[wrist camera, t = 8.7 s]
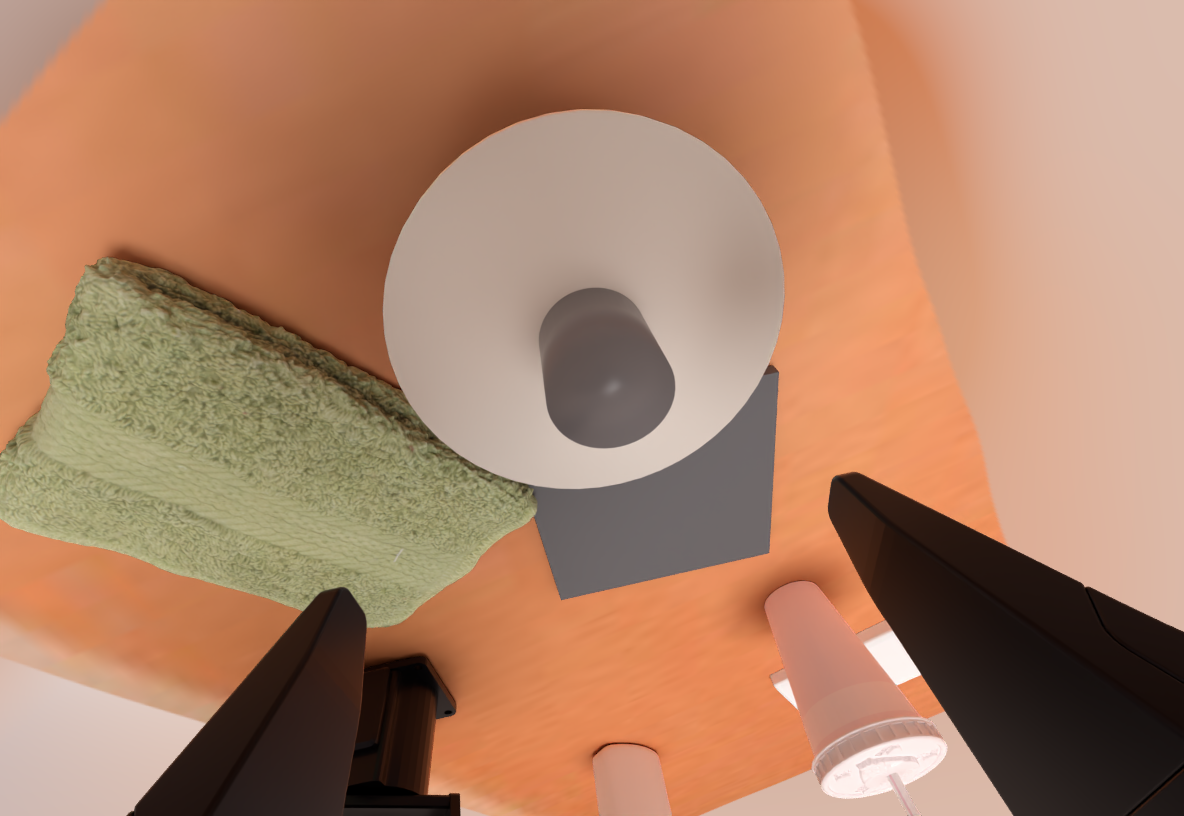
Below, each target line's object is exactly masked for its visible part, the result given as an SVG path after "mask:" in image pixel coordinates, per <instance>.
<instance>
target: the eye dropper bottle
mask: <svg viewBox="0 0 1184 816" xmlns="http://www.w3.org/2000/svg"><path fill="white" fill-rule="evenodd" d="M593 770H594V778H595V786H596V794H597V802H598V810H599V816H672V813H671V809H670V804H669V800H668V795H667V791H666V787H665V782H664V778H663V773H662V769H661V764H660V760H659V757H658V755H657V753H656V752H654V751H653V750H651V749H649V748H647V747H644V746H640V745H634V744H612V745H608V746H606V747H604V748H603V749H602V750H601V751H599V752H598V753H597V754H596V755H595V756H594V758H593Z"/></svg>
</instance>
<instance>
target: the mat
mask: <svg viewBox="0 0 1184 816" xmlns="http://www.w3.org/2000/svg"><path fill="white" fill-rule="evenodd" d="M778 378H779V372H778V371H777V369H776V368H775V367H774V366H773V365H772V366H768V367H767V368H766V370H765V372H764V374H763V376H762V378H761V380H760V382H759V384H758V386H757V387H756V389H755V390H754V391H753V393H752V394H751V396H750V397H749V399H748V400H747V402H746V403H745V405H744V406H743V407H742V408H741V409H740V411H739V412H738V413H737V414H736V415H735V416H734V418H733V419H732V420H731V421H730V422H729V423H728V424H727V425H726V426H725V427H724V428H723V429H722V430H721V431H720V432H719V433H718V434H717V435H716V436H714V437H713V438H712V439H710V440H709V441H708V442H707V443H705V444H704V445H703V446H701V447H700V448H699V449H698V450H696V451H694V452H693V453H691V454H690V455H688V456H686V457H685V458H683V459H682V460H680V461H678V462H676V463H674V464H672V465H670V466H668V467H666V468H664V469H662V470H660V471H658V472H655V473H652V474H650V475H647V476H645V477H642V478H639V479H635V480H632V481H628V482H625V483H621V484H616V485H610V486H604V487H598V488H585V489H557V488H549V487H540V486H534V485H530V484H527V485H528V486H529V488H533V489H534V490H533V493H532V495H534V496H535V498H536V500H537V512H536V514H535V515H534V518H535V521H536V524H537V527H538V530H539V533H540V536H541V539H542V542H543V545H544V548H545V552H546V555H547V558H548V561H549V564H550V567H551V570H552V573H553V576H554V579H555V582H556V586H557V589H558V592H559V595H560V598H561V600H564V599H568V598H573V597H577V596H581V595H586V594H590V593H595V592H599V591H604V590H608V589H612V588H617V587H621V586H626V585H630V584H635V583H639V582H643V581H648V580H652V579H657V578H661V577H666V576H670V575H674V574H679V573H683V572H688V571H692V570H697V569H701V568H705V567H710V566H714V565H719V564H723V563H727V562H732V561H736V560H741V559H745V558H750V557H754V556H758V555H763V554H767V553H769V547H770V529H771V510H772V491H773V472H774V453H775V435H776V416H777V397H778Z"/></svg>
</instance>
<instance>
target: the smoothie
mask: <svg viewBox="0 0 1184 816" xmlns="http://www.w3.org/2000/svg"><path fill="white" fill-rule="evenodd" d="M764 609H765V612H766V615H767V618H768V621H769V624H770V627H771V630H772V633H773V636H774V639H775V642H776V645H777V648H778V651H779V654H780V657H781V659H782V662H783V665H784V668H785V671H786V674H787V677H788V680H789V683H790V686H791V689H792V692H793V695H794V698H795V701H796V704H797V707H798V710H799V713H800V716H801V719H802V722H803V726H804V729H805V731H806V734H807V737H808V740H809V743H810V746H811V749H812V751H813V754H814V759H813V761H812V771H813V772H814V774H815V775H816V776H817V778H818V781H819V783H820V785H821V788H822V790H823V791H824V792H825V793H826V794H828V795H830V796H833V797H837V798H860V797H866V796H872V795H876V794H880V793H884V792H887V791H890V790H894V791H895V793H896V795H897V797H898V799H899V801H900V803H901V805H902V806H903V808H904V810H905V812H906V814H907V816H921V814H920V812H919V810H918V809H917V807H916V805H915V803H914V802H913V800H912V798H911V797H910V795H909V793H908V791H907V789H906V787H905V785H906V784H908V783H910V782H912V781H914V780H916V779H918V778H920V777H921V776H923V775H925V774H926V773H928V772H929V771H931V770H932V769H934V768H935V767H936V766H937V765H938V764H939V763H940V762H941V761H942V759H943V758H944V757H945V755H946V753H947V744H946V742H945V741H944V739H943V738H942V736H941V735H940V733H939V732H938V730H937V729H936V725H935V723H933V722H932V721H931V720H929V719H928V718H924V717H921V716H920V715H919V713H918V712H917V711H916V710H915V708H914V707H913V706H912V704H911V703H910V702H909V700H908V699H907V698H906V697H905V695H904V694H903V693H902V691H901V690H900V689H899V688H898V686H897V685H896V684H895V683H894V682H893V680H892V679H891V678H890V677H889V675H888V674H887V673H886V672H885V670H884V669H883V668H882V667H881V665H880V664H879V663H878V661H877V660H876V659H875V658H874V656H873V655H872V654H871V653H870V651H869V650H868V649H867V648H866V646H865V645H864V644H863V643H862V641H861V640H860V639H859V637H858V636H857V635H856V634H855V632H854V631H853V630H852V629H851V627H850V626H849V625H848V624H847V622H846V621H845V620H844V619H843V617H842V616H841V615H840V613H839V612H838V611H837V610H836V608H835V607H834V606H833V605H832V603H831V602H830V601H829V600H828V598H827V597H826V596H825V595H824V593H823V592H822V591H821V589H820V588H819V587H818V586H817V585H816V584H815V583H813V582H809V581H797V582H792V583H789V584H786V585H784V586H782V587H780V588H778V589H777V590H775V591H774V592H773V593H772V594H771V595H770V596H769V597H768V598H767V600H766V602H765V605H764Z"/></svg>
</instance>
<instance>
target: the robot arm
mask: <svg viewBox="0 0 1184 816" xmlns="http://www.w3.org/2000/svg"><path fill="white" fill-rule="evenodd" d="M828 513H829V517H830V519H831V522H832V524H833V525H834V527H835V529H836V531H837V533H838V535H839V537H840V539H841V541H842V543H843V545H844V547H845V549H846V551H847V553H848V555H849V557H850V559H851V561H852V563H853V565H854V567H855V569H856V570H857V572H858V574H859V576H860V578H861V580H862V582H863V584H864V586H865V588H866V589H867V591H868V593H869V595H870V596H871V598H872V600H873V601H874V603H875V605H876V606H877V608H878V609H879V611H880V612H881V614H882V615H883V617H884V618H885V620H886V621H887V623H888V624H889V626H890V628H891V629H892V631H893V632H894V634H895V635H896V637H897V638H898V640H899V641H900V643H901V644H902V646H903V647H904V649H905V651H906V652H907V654H908V655H909V657H910V658H911V660H912V661H913V663H914V664H915V666H916V667H917V669H918V670H919V672H920V673H921V675H922V677H923V678H924V680H925V681H926V683H927V684H928V686H929V687H930V689H931V690H932V692H933V693H934V695H935V696H936V698H937V699H938V701H939V703H940V704H941V706H942V707H943V709H944V710H945V712H946V713H947V715H948V716H949V718H950V719H951V721H952V722H953V724H954V725H955V727H956V728H957V730H958V732H959V733H960V735H961V736H962V738H963V739H964V741H965V742H966V744H967V745H968V747H969V748H970V750H971V752H972V753H973V755H974V756H975V757H976V759H977V761H978V762H979V764H980V765H981V767H982V768H983V770H984V771H985V773H986V774H987V776H988V778H989V779H990V781H991V782H992V784H993V785H994V787H995V788H996V790H997V791H998V793H999V794H1000V796H1001V797H1002V799H1003V800H1004V802H1005V804H1006V805H1007V806H1008V808H1009V810H1010V811H1011V812H1012V814H1013V816H1184V632H1183V631H1181V630H1178V629H1176V628H1174V627H1172V626H1170V625H1167V624H1165V623H1163V622H1161V621H1159V620H1157V619H1155V618H1153V617H1150V616H1148V615H1146V614H1144V613H1142V612H1140V611H1138V610H1136V609H1134V608H1132V607H1129V606H1128V605H1126V604H1123V603H1121V602H1119V601H1117V600H1115V599H1113V598H1111V597H1109V596H1107V595H1105V594H1103V593H1101V592H1099V591H1097V590H1095V589H1093V588H1091V587H1084V585H1083V584H1082V583H1081V582H1078V581H1077V580H1074V579H1072V578H1070V577H1068V576H1066V575H1064V574H1062V573H1060V572H1058V571H1056V570H1054V569H1052V568H1050V567H1048V566H1046V565H1044V564H1042V563H1040V562H1038V561H1036V560H1034V559H1032V558H1030V557H1028V556H1026V555H1024V554H1022V553H1020V552H1018V551H1016V550H1014V549H1012V548H1010V547H1008V546H1006V545H1004V544H1002V543H1000V542H998V541H996V540H994V539H992V538H990V537H988V536H986V535H984V534H982V533H980V532H978V531H976V530H974V529H972V528H970V527H967V526H965V525H963V524H961V523H959V522H957V521H955V520H953V519H951V518H949V517H947V516H945V515H943V514H941V513H939V512H937V511H935V510H933V509H931V508H929V507H927V506H925V505H923V504H921V503H919V502H917V501H915V500H913V499H911V498H909V497H907V496H905V495H903V494H901V493H899V492H897V491H895V490H893V489H891V488H889V487H887V486H885V485H883V484H881V483H879V482H877V481H875V480H873V479H871V478H869V477H867V476H865V475H863V474H860V473H857V472H850V473H846V474H841V475H837V476H835V477H834V478H833V479H832V482H831V488H830V495H829V503H828ZM366 632H367V620H366V616H365V613H364V611H363V610H362V608H361V607H360V605H359V604H358V602H357V601H356V599H355V598H354V596H353V595H352V594H351V592H350V591H349V590H348V588H346V587H337V588H333V589H328V590H324V591H322V592H320V593H319V594H318V595H317V596H316V597H315V598H314V599H313V600H312V602H311V603H310V604H309V605H308V606H307V607H306V609H305V610H304V611H303V612H302V613H301V614H300V615H299V617H298V618H297V619H296V620H295V621H294V622H293V624H292V625H291V626H290V627H289V628H288V629H287V631H286V632H285V633H284V634H283V635H282V636H281V637H280V639H279V640H278V641H277V642H276V643H275V644H274V646H273V647H272V648H271V649H270V650H269V651H268V653H267V654H266V655H265V656H264V657H263V658H262V659H261V661H260V662H259V663H258V664H257V665H256V666H255V668H254V669H253V670H252V671H251V672H250V673H249V675H248V676H247V677H246V678H245V679H244V680H243V682H242V683H241V684H240V685H239V686H238V687H237V688H236V690H235V691H234V692H233V693H232V694H231V695H230V697H229V698H228V699H227V700H226V701H225V702H224V704H223V705H222V706H221V707H220V708H219V709H218V710H217V712H216V713H215V714H214V715H213V716H212V717H211V719H210V720H209V721H208V722H207V723H206V724H205V726H204V727H203V728H202V729H201V730H200V731H199V732H198V734H197V735H196V736H195V737H194V738H193V739H192V741H191V742H190V743H189V744H188V745H187V747H186V748H185V749H184V750H183V751H182V752H181V754H180V755H179V756H178V757H177V758H176V759H175V760H174V761H173V763H172V764H171V765H170V766H169V767H168V768H167V770H166V771H165V772H164V773H163V774H162V775H161V777H160V778H159V779H158V780H157V781H156V782H155V784H154V785H153V786H152V787H151V788H150V789H149V790H148V792H147V793H146V794H145V795H144V796H143V797H142V799H141V800H140V801H139V802H138V803H137V805H136V806H135V809H134V811H131V812H130V813H128V815H127V816H460V794H459V793H450V794H449V795H428V787H429V777H430V768H431V759H432V750H433V741H434V732H435V722H436V719H440V718H444V717H449V716H452V715H454V714H455V713H456V703H455V702H454V700H453V699H452V697H451V695H450V694H449V692H448V691H447V689H446V688H445V686H444V684H443V683H442V681H441V680H440V678H439V677H438V675H437V674H436V672H435V670H434V669H433V667H432V666H431V664H430V663H429V661H428V659H426V658H425V657H414V658H409V659H405V660H400V661H396V662H392V663H387V664H383V665H378V666H374V667H370V668H365V669H364V660H365V646H366Z"/></svg>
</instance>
